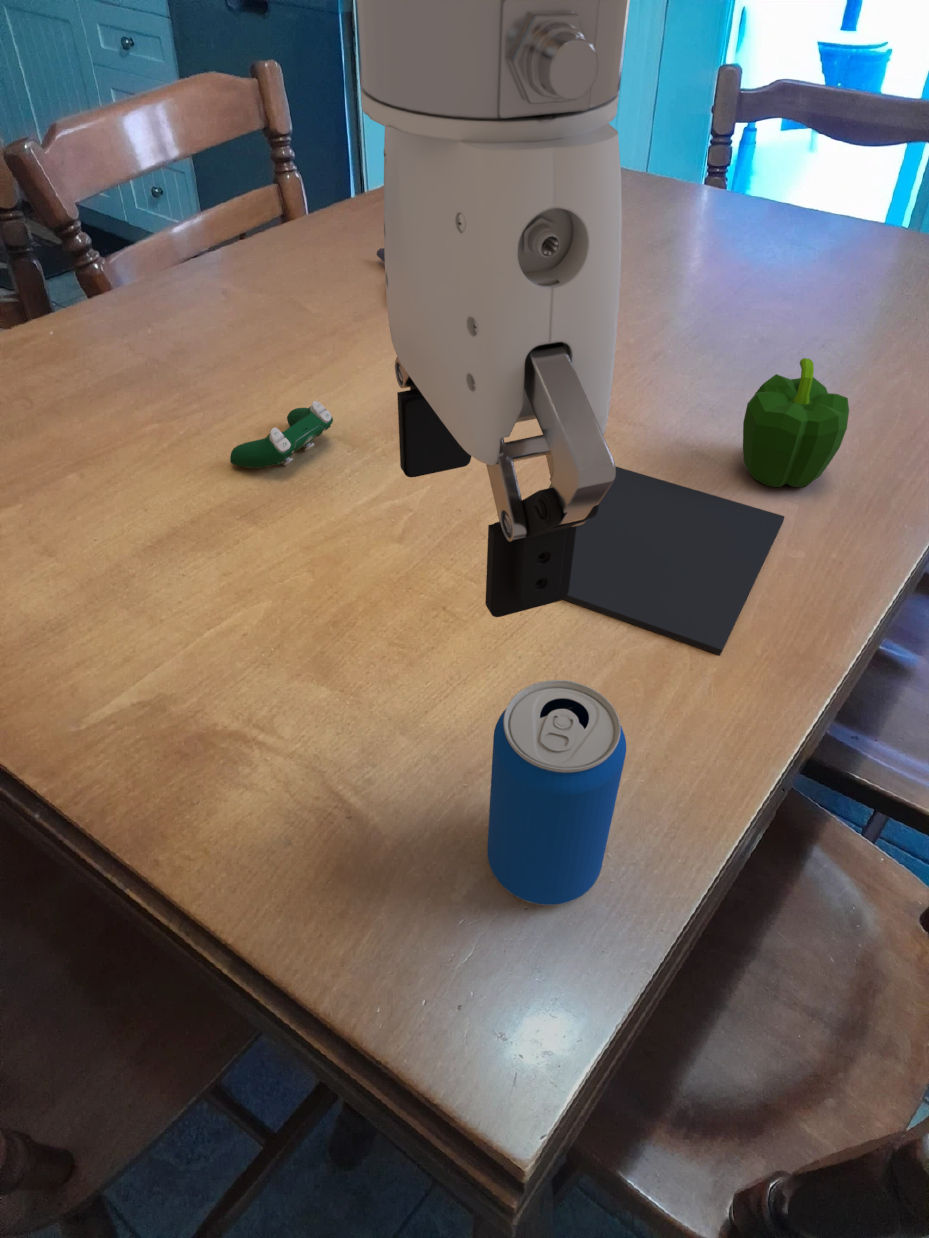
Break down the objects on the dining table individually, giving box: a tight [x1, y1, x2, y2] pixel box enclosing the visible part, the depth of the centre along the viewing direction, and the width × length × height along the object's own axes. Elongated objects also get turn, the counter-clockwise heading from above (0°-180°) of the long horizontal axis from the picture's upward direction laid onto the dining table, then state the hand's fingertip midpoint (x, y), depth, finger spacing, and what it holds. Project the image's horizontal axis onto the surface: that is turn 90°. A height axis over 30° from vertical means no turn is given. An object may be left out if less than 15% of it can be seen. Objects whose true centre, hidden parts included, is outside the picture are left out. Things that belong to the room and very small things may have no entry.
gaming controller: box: [229, 400, 334, 469], centre depth 80 cm, size 9×4×6 cm
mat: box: [562, 465, 785, 656], centre depth 72 cm, size 16×18×1 cm
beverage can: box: [486, 679, 627, 906], centre depth 47 cm, size 6×6×12 cm
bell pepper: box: [742, 357, 850, 488], centre depth 77 cm, size 8×8×10 cm
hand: (477, 530), depth 37 cm, fingers open, 9 cm apart
